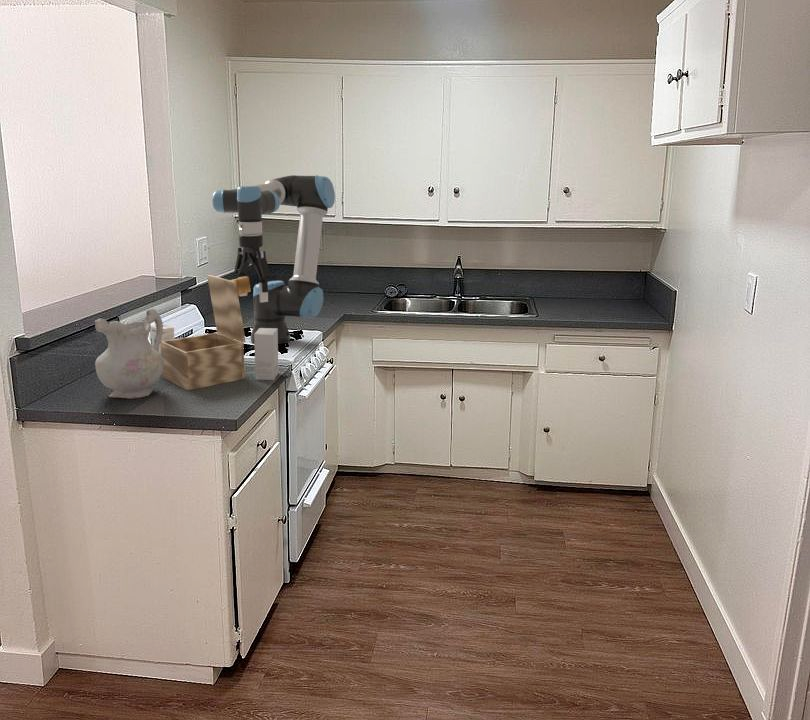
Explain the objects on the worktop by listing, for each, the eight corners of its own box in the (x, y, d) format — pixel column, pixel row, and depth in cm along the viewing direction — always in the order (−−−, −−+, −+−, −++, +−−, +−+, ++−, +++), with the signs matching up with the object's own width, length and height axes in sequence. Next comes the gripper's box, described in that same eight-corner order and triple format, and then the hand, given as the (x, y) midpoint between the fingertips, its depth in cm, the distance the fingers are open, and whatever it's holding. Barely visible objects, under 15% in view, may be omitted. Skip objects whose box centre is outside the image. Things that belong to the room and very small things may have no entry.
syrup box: (166, 364, 262) (163, 323, 258) (176, 368, 258) (173, 326, 254) (152, 368, 258) (148, 326, 254) (162, 371, 254) (159, 329, 250)
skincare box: (260, 372, 254) (258, 327, 249) (280, 373, 253) (278, 327, 249) (254, 380, 246) (252, 333, 241) (275, 380, 245) (273, 333, 241)
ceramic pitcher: (137, 382, 245) (125, 306, 239) (186, 385, 238) (175, 307, 232) (86, 402, 226) (72, 320, 220) (138, 406, 218) (125, 321, 212)
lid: (217, 332, 257) (242, 325, 263) (243, 342, 244) (269, 334, 250) (206, 275, 250) (233, 268, 256) (233, 282, 237) (260, 275, 243)
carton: (218, 366, 260) (216, 332, 257) (244, 378, 247) (243, 343, 244) (162, 377, 247) (160, 341, 244) (187, 390, 234) (184, 352, 231)
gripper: (222, 232, 254) (225, 294, 260) (260, 238, 236) (262, 306, 242) (242, 230, 259) (244, 292, 264) (281, 237, 241) (283, 303, 246)
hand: (253, 298), depth 253 cm, fingers open, 13 cm apart
